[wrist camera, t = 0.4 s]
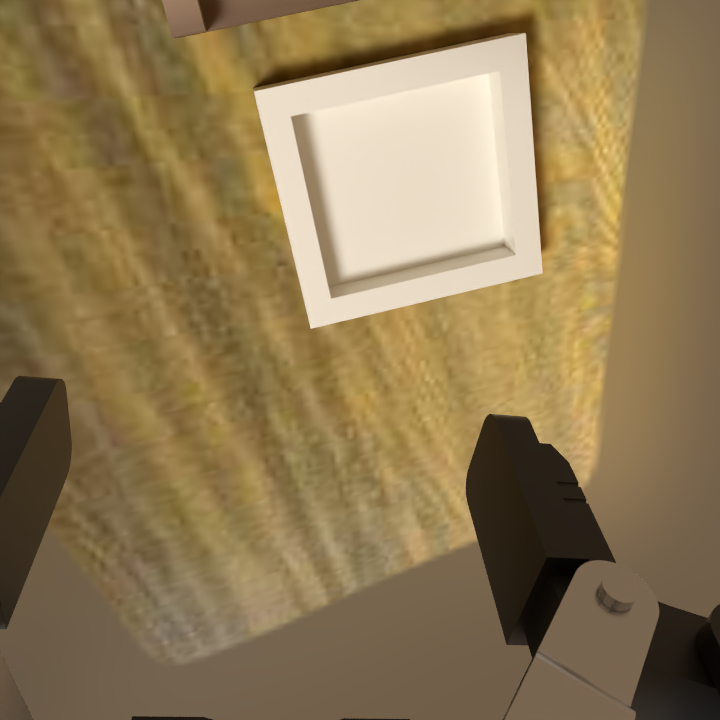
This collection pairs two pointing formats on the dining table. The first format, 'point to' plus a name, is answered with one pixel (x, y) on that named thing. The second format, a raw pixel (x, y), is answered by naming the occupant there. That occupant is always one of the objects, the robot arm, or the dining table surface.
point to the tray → (406, 176)
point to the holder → (231, 13)
